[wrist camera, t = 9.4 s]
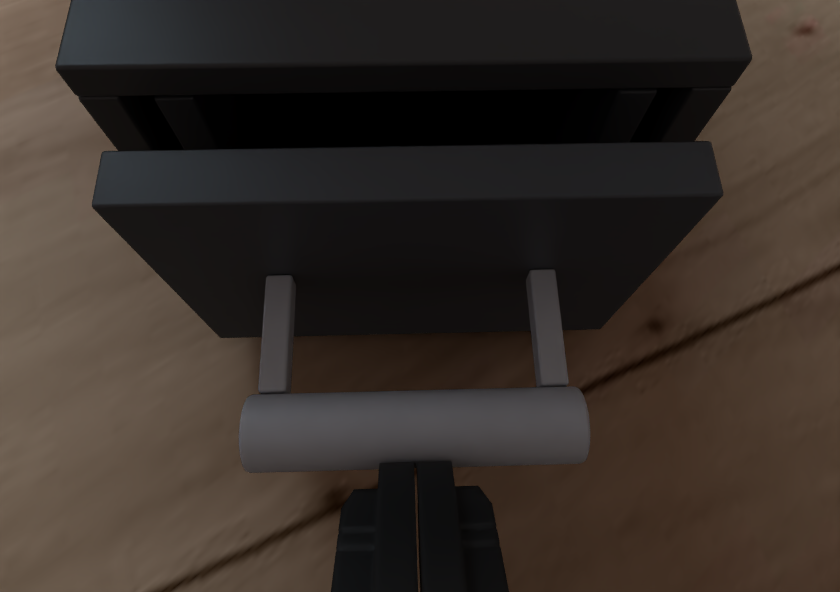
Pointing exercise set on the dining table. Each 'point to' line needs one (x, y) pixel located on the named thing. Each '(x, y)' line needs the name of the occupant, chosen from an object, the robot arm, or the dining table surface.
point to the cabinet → (397, 53)
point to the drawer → (408, 249)
